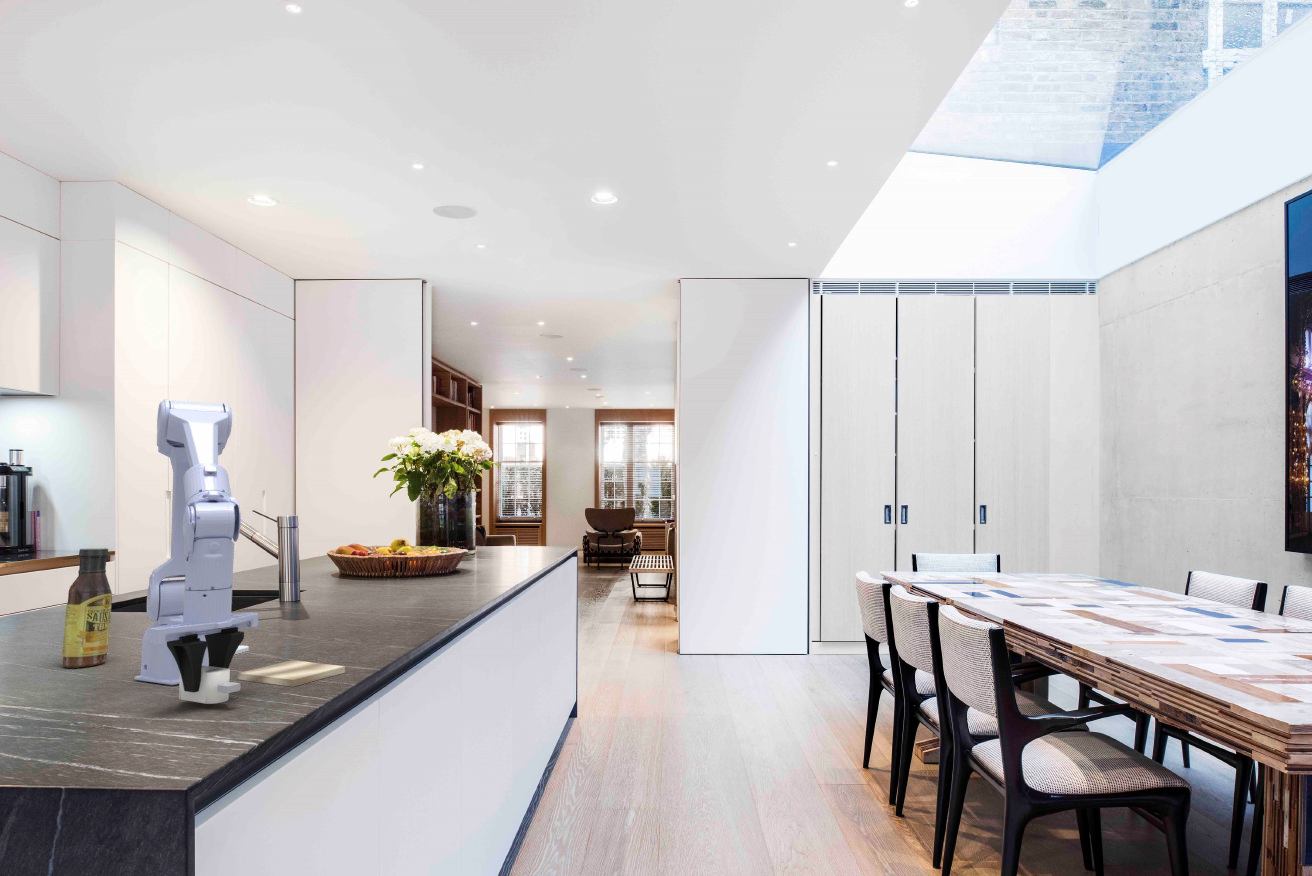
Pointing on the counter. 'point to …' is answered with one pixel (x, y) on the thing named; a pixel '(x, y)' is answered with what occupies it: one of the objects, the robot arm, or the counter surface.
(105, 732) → the counter surface
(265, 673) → the birch board
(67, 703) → the counter surface
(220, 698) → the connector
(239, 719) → the counter surface
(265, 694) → the counter surface
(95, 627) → the sauce bottle
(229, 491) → the robot arm
